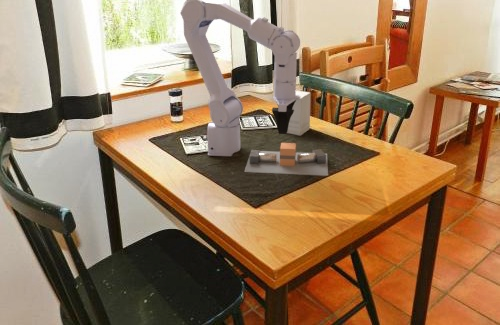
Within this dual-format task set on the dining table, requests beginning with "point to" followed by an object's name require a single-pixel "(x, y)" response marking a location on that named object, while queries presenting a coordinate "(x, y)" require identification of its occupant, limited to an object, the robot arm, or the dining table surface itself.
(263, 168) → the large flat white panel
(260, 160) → the input shaft
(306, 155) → the output shaft
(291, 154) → the taped shipping carton
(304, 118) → the supplement box
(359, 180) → the dining table surface
